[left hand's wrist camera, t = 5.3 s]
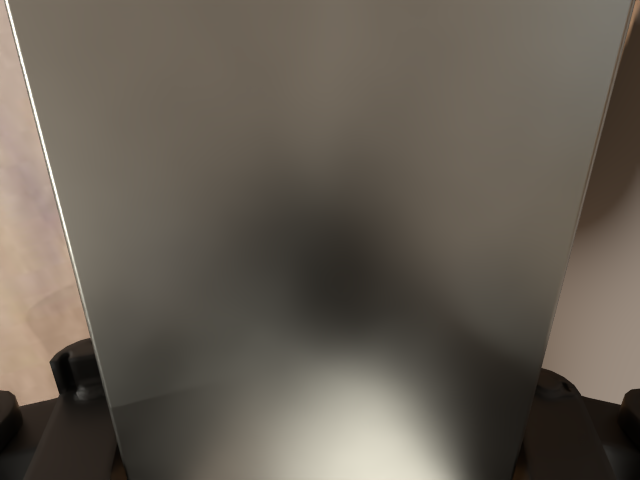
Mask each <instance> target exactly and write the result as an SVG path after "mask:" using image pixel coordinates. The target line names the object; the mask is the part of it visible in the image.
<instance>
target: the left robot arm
mask: <svg viewBox="0 0 640 480" xmlns="http://www.w3.org/2000/svg"><path fill="white" fill-rule="evenodd" d="M50 365H51V368H52V372H53V375H54V378H55V381H56V385H57V388H58V391H59V394H60V395H59V397H58V398H55V399H51V400H47V401H42V402H38V403H33V404H29V405H24V406H20V407H19V405H18V403H17V400H16V397H15V395H13V394H12V393H11V392H9V391H1V390H0V480H127V478H126V474H125V470H124V466H123V462H122V458H121V454H120V450H119V446H118V442H117V439H116V435H115V431H114V427H113V423H112V419H111V415H110V411H109V407H108V404H107V400H106V396H105V392H104V388H103V384H102V380H101V376H100V372H99V368H98V365H97V361H96V357H95V353H94V349H93V345H92V341H91V338H88V339H84V340H80V341H78V342H76V343H73V344H71V345H69V346H67V347H65V348H64V349H62V350H61V351H59V352H58V353H57V354H56V355H55V356H54V357H53V358H52V359H51V361H50ZM513 480H640V389H632V390H630V391H629V392H627V393H626V394H625V396H624V399H623V401H622V404H621V405H619V404H614V403H610V402H605V401H600V400H596V399H592V398H587V397H584V396H581V394H580V393H579V391H578V390H577V388H576V387H575V386H574V385H573V384H572V383H571V382H570V381H568V380H567V379H566V378H564V377H563V376H561V375H559V374H557V373H555V372H553V371H550V370H547V369H543V368H541V371H540V374H539V378H538V382H537V386H536V390H535V394H534V398H533V402H532V406H531V409H530V413H529V417H528V421H527V425H526V429H525V433H524V437H523V441H522V445H521V448H520V452H519V456H518V460H517V464H516V468H515V472H514V476H513Z"/></svg>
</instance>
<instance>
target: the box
mask: <svg viewBox="0 0 640 480" xmlns="http://www.w3.org/2000/svg"><path fill="white" fill-rule="evenodd" d="M4 2H5V6H6V10H7V14H8V18H9V22H10V26H11V29H12V33H13V37H14V41H15V45H16V49H17V53H18V57H19V61H20V65H21V68H22V72H23V76H24V80H25V84H26V88H27V92H28V96H29V100H30V104H31V107H32V111H33V115H34V119H35V123H36V127H37V131H38V135H39V139H40V142H41V146H42V150H43V154H44V158H45V162H46V166H47V170H48V174H49V178H50V181H51V185H52V189H53V193H54V197H55V201H56V205H57V209H58V213H59V217H60V220H61V224H62V228H63V232H64V236H65V240H66V244H67V248H68V252H69V255H70V259H71V263H72V267H73V271H74V275H75V279H76V283H77V287H78V291H79V294H80V298H81V302H82V306H83V310H84V314H85V318H86V322H87V326H88V329H89V333H90V337H91V341H92V345H93V349H94V353H95V357H96V361H97V365H98V368H99V372H100V376H101V380H102V384H103V388H104V392H105V396H106V400H107V404H108V407H109V411H110V415H111V419H112V423H113V427H114V431H115V435H116V439H117V442H118V446H119V450H120V454H121V458H122V462H123V466H124V470H125V474H126V478H127V480H513V476H514V472H515V468H516V464H517V460H518V456H519V452H520V448H521V445H522V441H523V437H524V433H525V429H526V425H527V421H528V417H529V413H530V409H531V406H532V402H533V398H534V394H535V390H536V386H537V382H538V378H539V374H540V371H541V367H542V363H543V359H544V355H545V351H546V347H547V343H548V339H549V335H550V331H551V328H552V324H553V320H554V316H555V312H556V308H557V304H558V300H559V296H560V293H561V289H562V285H563V281H564V277H565V273H566V269H567V265H568V261H569V257H570V254H571V250H572V246H573V242H574V238H575V234H576V230H577V226H578V222H579V218H580V215H581V211H582V207H583V203H584V199H585V195H586V191H587V187H588V183H589V180H590V176H591V172H592V168H593V164H594V160H595V156H596V152H597V148H598V144H599V141H600V137H601V133H602V129H603V125H604V121H605V117H606V113H607V109H608V105H609V101H610V98H611V94H612V90H613V86H614V82H615V78H616V74H617V70H618V66H619V63H620V59H621V55H622V51H623V47H624V43H625V39H626V35H627V31H628V28H629V24H630V20H631V16H632V12H633V8H634V4H635V0H4Z"/></svg>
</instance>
